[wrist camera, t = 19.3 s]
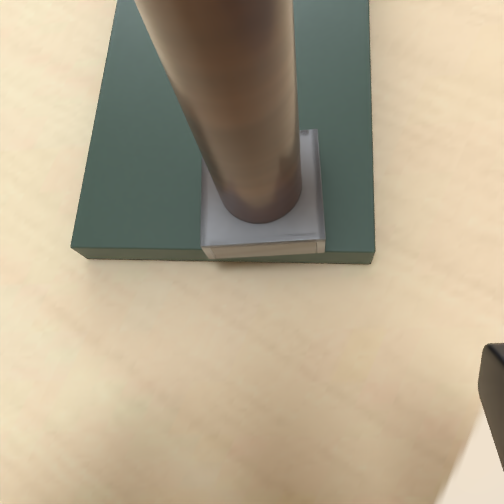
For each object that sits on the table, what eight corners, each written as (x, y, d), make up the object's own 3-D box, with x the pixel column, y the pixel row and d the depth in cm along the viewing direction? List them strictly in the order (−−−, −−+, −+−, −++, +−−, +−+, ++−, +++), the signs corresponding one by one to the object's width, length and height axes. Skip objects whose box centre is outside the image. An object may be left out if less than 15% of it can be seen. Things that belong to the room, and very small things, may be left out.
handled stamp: (324, 252, 17) (357, -174, 5) (208, 259, 18) (-49, -112, 5) (317, 149, 19) (327, -395, 6) (209, 158, 19) (11, -328, 7)
